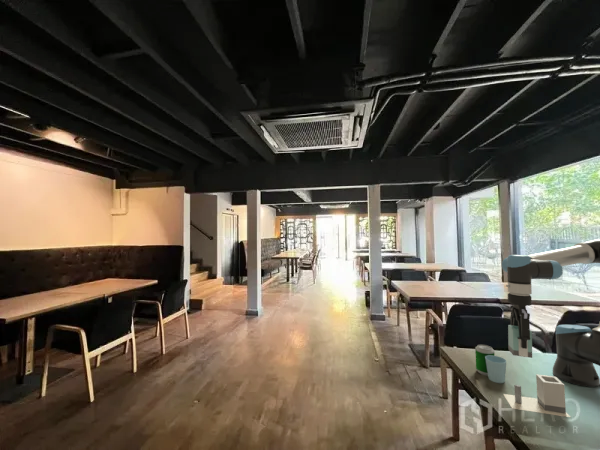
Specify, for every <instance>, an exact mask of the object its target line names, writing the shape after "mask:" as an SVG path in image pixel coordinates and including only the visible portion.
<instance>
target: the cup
mask: <svg viewBox="0 0 600 450" xmlns="http://www.w3.org/2000/svg"><path fill="white" fill-rule="evenodd" d="M485 359H486V365H487V371H488V376H487V377H488V380H489V381H490V382H493V383H497V384H504V383H505V382H506V381H505V380H506V372H507V359H505V358H504V357H502V356H501V357H500V356H497V355H495V356H493V355H488V356H486V357H485Z"/></svg>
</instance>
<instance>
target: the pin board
mask: <svg viewBox="0 0 600 450" xmlns="http://www.w3.org/2000/svg"><path fill="white" fill-rule="evenodd" d="M513 389H514V394H507V393H503V396H504V398H505V399H506V401H507V403H508V404H509V406H510V407H511V409H513V410H514V409H515V410H520V411H521V410H522V411H526V412H533V413H538V414H539V413H540V414H547V415H553V416H560V417H566V418H571V415H570V414H568V412H566V414H565V413H559V412H552V411H545V410H544V409H543V407H542V406H541V405H540V404H539V402H538V401H537V397H528V396H523V395H522V386H521V385H520V384H514V387H513Z"/></svg>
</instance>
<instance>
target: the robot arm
mask: <svg viewBox="0 0 600 450" xmlns="http://www.w3.org/2000/svg"><path fill="white" fill-rule="evenodd" d="M577 264H583V265H584V264H585V265H588V264H600V238H597V239H596V238H595V239H592V240H587V241H582V242H577V243H575V244H574V245H573V246H570V247H565V248H564V247H563V248H558V249H554V250H549V251H544V252H543V251H542V252H539V253H538V252H537V253H533V254H529V255H528V254H527V255H525V254H509V255H508V256H507V257H505V258H504V259H503V260H502V261H501V267H502V270H503V271H504V272H505V273H506V274H507V284H506V285H505V287H507V292H508V293H507V302H508V303H509V304H511V305H510V307H509V308H510V325H514V326H518V328H519V337H517V338H518V345H519V356H518V357H522V356H524V358H529V357H528V340H530V330H531V329H530V328H531V327H530V326H531V325H530V324H531V323H530V318H531V316H530V315H531V314H530V313H529V312H528V310H527V307H528V306H531V305H532V296H531V295H532V280H550V281H551V280H558V279H559V278H561V277H562V275H563V273H564V271H563V267H566V266H572V265H577ZM555 327H556V328H555V344H556V345H555V346H556V359H555V360H554V363H553V366H552V374H553V376H554V377H557V378H558V379H559V380H560V381H564V382H567V383H569V384H573V385H577V386H580V387H589V388H592V387H593V388H594V387H599V386H600V377H599V374H598V372H597V370H596V368H595V365H596V366H599V367H600V322H599V323H598V326H597V327H594V328H592V329H591V328H590V327H589V326H585V325H579V324H578V325H577V324H558V325H557V326H555Z"/></svg>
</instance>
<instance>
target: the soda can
mask: <svg viewBox="0 0 600 450" xmlns="http://www.w3.org/2000/svg"><path fill="white" fill-rule="evenodd" d="M474 348H475V349H474V351H475V370H476V371H477V372H478V373H479V374H480V375H481V376H487V377H488V371H487V365H486V359H485V357H486V356H488V355H493V356H496V354H495V350H494V349H493V347H492V346H489V345H487V344H477V346H475V347H474Z"/></svg>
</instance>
